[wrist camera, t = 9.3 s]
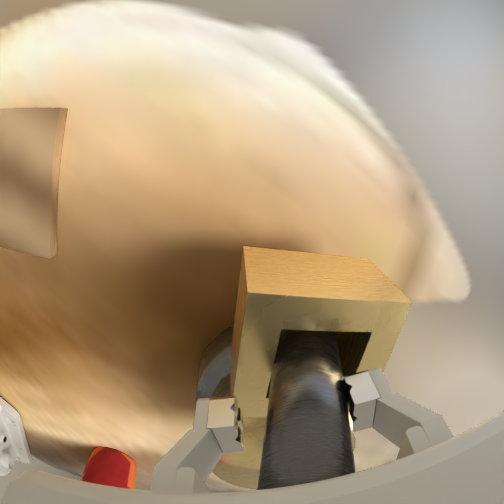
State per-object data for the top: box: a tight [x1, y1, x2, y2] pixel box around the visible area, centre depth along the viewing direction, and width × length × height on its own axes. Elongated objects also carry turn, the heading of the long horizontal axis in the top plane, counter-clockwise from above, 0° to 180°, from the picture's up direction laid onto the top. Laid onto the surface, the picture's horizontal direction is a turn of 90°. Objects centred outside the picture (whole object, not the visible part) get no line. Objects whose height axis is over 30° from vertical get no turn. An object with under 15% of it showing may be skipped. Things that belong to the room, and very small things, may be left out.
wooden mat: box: [0, 108, 68, 259], centre depth 16 cm, size 10×10×1 cm
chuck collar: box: [211, 246, 411, 489], centre depth 17 cm, size 16×9×5 cm, turn 173°
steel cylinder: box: [257, 329, 355, 490], centre depth 11 cm, size 3×3×10 cm
